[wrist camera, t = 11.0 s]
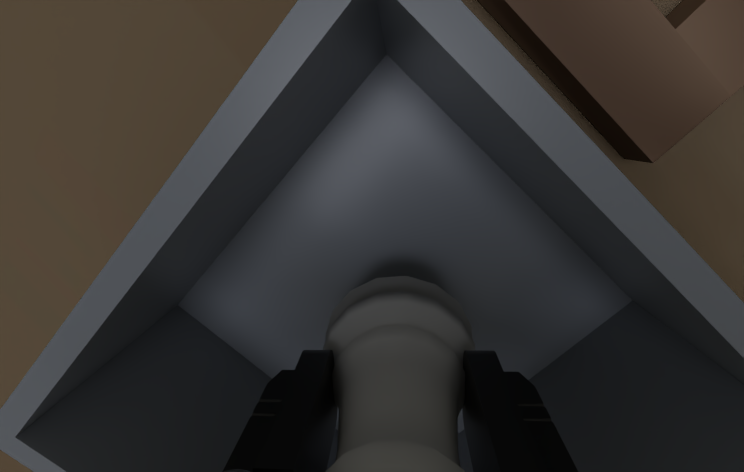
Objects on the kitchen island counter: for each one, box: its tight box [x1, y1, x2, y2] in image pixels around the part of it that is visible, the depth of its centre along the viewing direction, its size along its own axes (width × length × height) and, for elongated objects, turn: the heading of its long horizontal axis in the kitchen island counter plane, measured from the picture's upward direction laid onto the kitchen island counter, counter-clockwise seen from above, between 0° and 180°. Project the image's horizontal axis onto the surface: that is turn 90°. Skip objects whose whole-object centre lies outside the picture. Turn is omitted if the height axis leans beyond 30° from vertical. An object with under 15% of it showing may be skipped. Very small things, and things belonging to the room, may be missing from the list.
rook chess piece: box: [323, 276, 475, 472], centre depth 8 cm, size 4×4×8 cm
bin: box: [0, 0, 744, 472], centre depth 11 cm, size 13×13×7 cm
